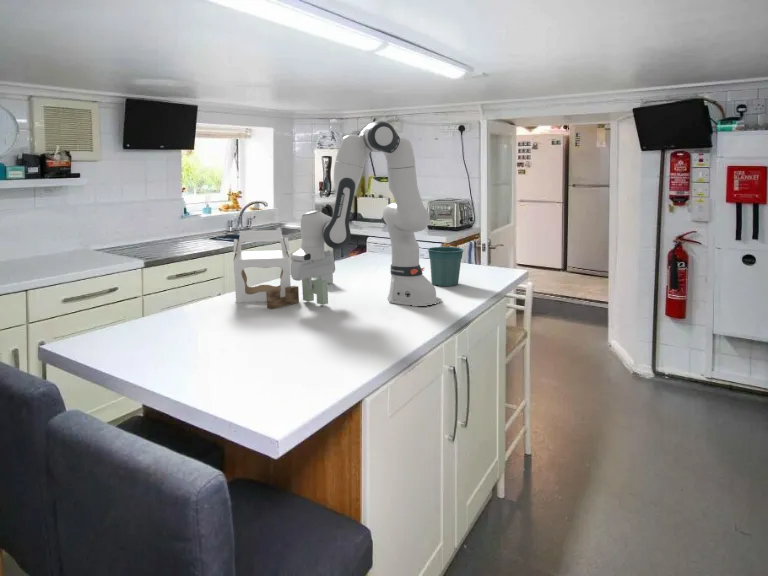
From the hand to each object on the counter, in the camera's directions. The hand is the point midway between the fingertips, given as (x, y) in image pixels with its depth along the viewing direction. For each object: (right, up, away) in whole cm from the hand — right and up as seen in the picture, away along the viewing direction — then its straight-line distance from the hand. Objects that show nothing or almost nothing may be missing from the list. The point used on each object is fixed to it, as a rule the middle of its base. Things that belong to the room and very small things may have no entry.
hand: (314, 287), depth 228 cm
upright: (-12, -7, 0) cm, 14 cm away
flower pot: (+55, +2, +37) cm, 66 cm away
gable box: (-23, -4, +12) cm, 26 cm away
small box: (-1, +2, +41) cm, 41 cm away
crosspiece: (0, -6, +1) cm, 6 cm away
